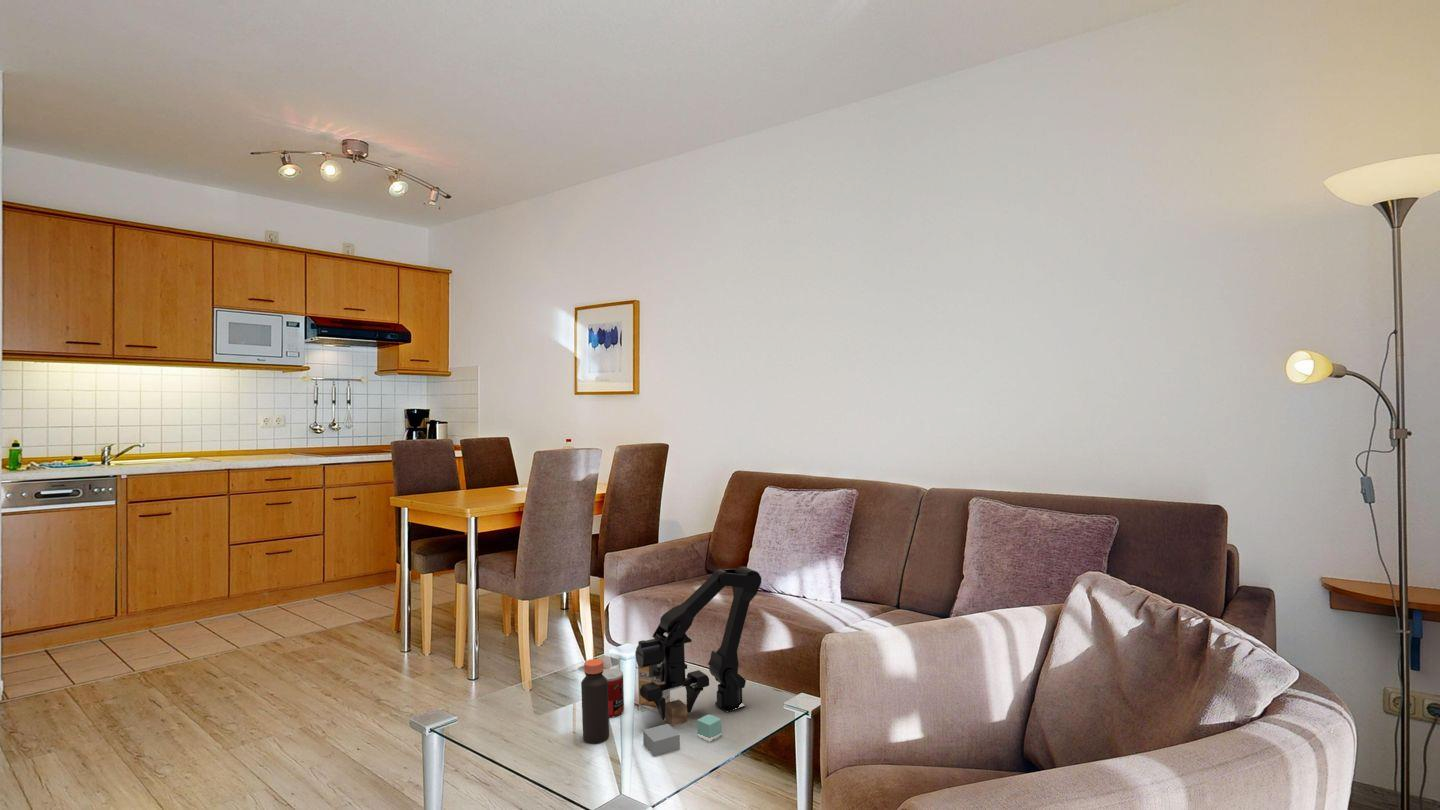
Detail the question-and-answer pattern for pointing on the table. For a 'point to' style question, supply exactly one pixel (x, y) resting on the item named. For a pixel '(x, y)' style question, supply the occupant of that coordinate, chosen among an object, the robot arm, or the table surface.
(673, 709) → the walnut cube
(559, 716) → the table surface
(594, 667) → the bottle
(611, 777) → the table surface
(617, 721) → the table surface
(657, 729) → the slate block
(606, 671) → the canned food
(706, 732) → the teal cube
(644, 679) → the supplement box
